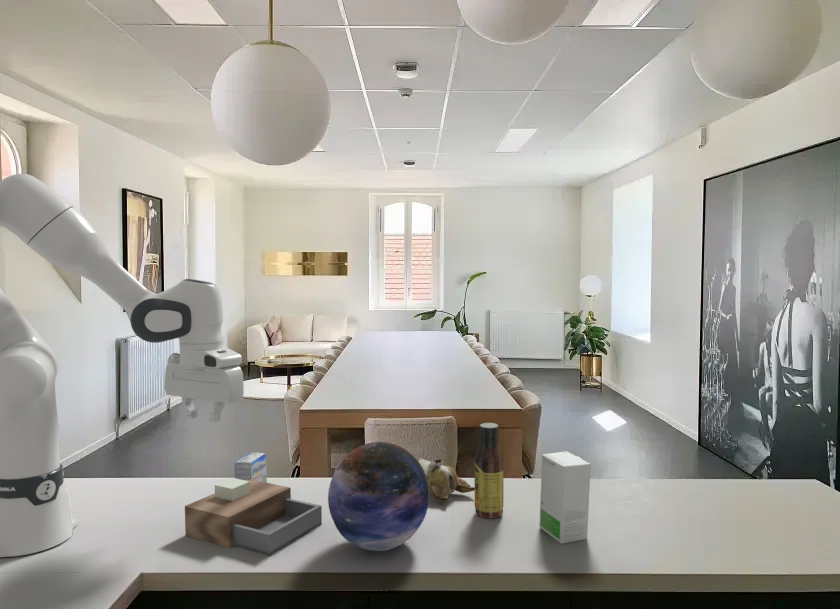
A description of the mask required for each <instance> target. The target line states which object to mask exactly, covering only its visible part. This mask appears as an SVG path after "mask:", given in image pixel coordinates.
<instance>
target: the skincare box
mask: <svg viewBox="0 0 840 609" xmlns="http://www.w3.org/2000/svg"><path fill="white" fill-rule="evenodd" d="M540 479H541V480H540V481H541V482H540V501H539V503H540V504H539V528H540V529H541V530H542V531H543V532H545V533H547V534H548V535H549V536H550V537H551V538H552V539H555V541H556V542H558V543H559V544H560V545H561V544H569V543H573V542H579V541H584V540H587V539H588V530H589V528H588V526H589V525H588V524H589V508H590V507H589V505H590V488H591V487H590V486H591V485H590V484H591V463H590V462H587V461H586V460H584V459H582V458H581V457H580V456H578V455H574V454H573V453H571V452H570V451H565V450H564V451H559V452H552V453H551V452H550V453H544V454H543V453H542V454H541V478H540Z"/></svg>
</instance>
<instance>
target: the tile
mask: <svg viewBox="0 0 840 609" xmlns="http://www.w3.org/2000/svg"><path fill="white" fill-rule="evenodd" d="M214 493H215V497H218V498H222V499H227V500H231V501H234V500H236V499H238V498H240V497H243V496H245V495H247V494H249V493H250V481H245V480H241V479H236V478H235V477H231V478H229V479H228V478H227V479H226V480H223V481H221V482H219V483H216V484H214Z"/></svg>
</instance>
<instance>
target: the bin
mask: <svg viewBox="0 0 840 609" xmlns="http://www.w3.org/2000/svg"><path fill="white" fill-rule="evenodd" d="M322 509H323V508H322V505H320V504H316V503H311V502H307V501H302V500H298V499H293V498H291V499H289V498H287V499H285V516H283V517H281V518H279V519H277V520H275V521H273V522H271V523H270V524H268V525H266V526H264V527H262V528H260V529H258V530H257V529H253V528H250V527H246V526H242V525H238V524H235V525H233V543H234V546H233V547H237V548H240V549H244V550H248V551H251V552H255V553H257V554H262V555H265V556H269V557H270V556H272V555H273V554H274V553H278V552H279V551H280V550H281V549H283V548H285V547H287V546H288V545H290V544H291V543H293V542H295V541H296V540H298V539H300V538H302V537H303V536H305V535H307V534H308V533H311V531H313V530H315V529H316V528H318V527H320V526H321V525H322V524H323V523H322V519H323V518H322V517H323V516H322V515H323V514H322Z"/></svg>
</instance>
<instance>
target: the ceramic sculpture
mask: <svg viewBox="0 0 840 609" xmlns="http://www.w3.org/2000/svg"><path fill="white" fill-rule="evenodd" d="M417 461H418V462H419V463H420V465H421V466H422V468H423V470H424V472H425V475H426V478H427V482H428V491H429V493H431V495H432V497H433V498H434V499H435V500H436V501H440V502H445V501H446V502H447V501H448V500H449V497H450V495H451V494H453V493H454V492H455V491H456V492H459V493H462V494H465V493H466V494H467V493H469V492H475V486H473V487H472V486H471V485H470V484H469V483H468V482H467V480H465V479H463V477H461V476H458V475H457V473H456V470H455V469H454V468H453V467H451V466H450V465H449V464H444V462H443V461H442V460H441V459H435V460H432V461H430V460H427V459H423V458H422V457H418V459H417Z"/></svg>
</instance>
